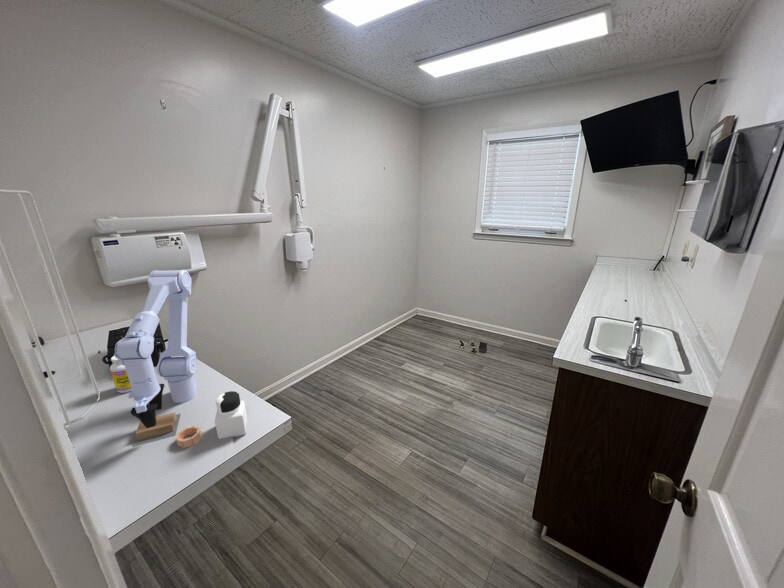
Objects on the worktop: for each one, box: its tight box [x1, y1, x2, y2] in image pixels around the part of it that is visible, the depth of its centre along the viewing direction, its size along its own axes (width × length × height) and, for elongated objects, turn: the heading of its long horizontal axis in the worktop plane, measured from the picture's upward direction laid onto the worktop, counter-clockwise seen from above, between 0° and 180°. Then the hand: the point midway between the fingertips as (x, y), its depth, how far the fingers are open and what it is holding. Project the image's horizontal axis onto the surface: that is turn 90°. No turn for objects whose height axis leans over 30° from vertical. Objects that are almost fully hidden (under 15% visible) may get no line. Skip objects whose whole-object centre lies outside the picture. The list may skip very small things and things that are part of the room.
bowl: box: [175, 425, 203, 449], centre depth 87 cm, size 6×6×3 cm
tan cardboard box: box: [135, 411, 177, 440], centre depth 90 cm, size 6×8×2 cm, turn 115°
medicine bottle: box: [214, 390, 248, 440], centre depth 90 cm, size 7×7×12 cm
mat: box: [131, 413, 181, 448], centre depth 91 cm, size 10×10×1 cm
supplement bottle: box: [109, 355, 133, 394], centre depth 108 cm, size 7×7×13 cm
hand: (154, 417), depth 89 cm, fingers open, 7 cm apart
